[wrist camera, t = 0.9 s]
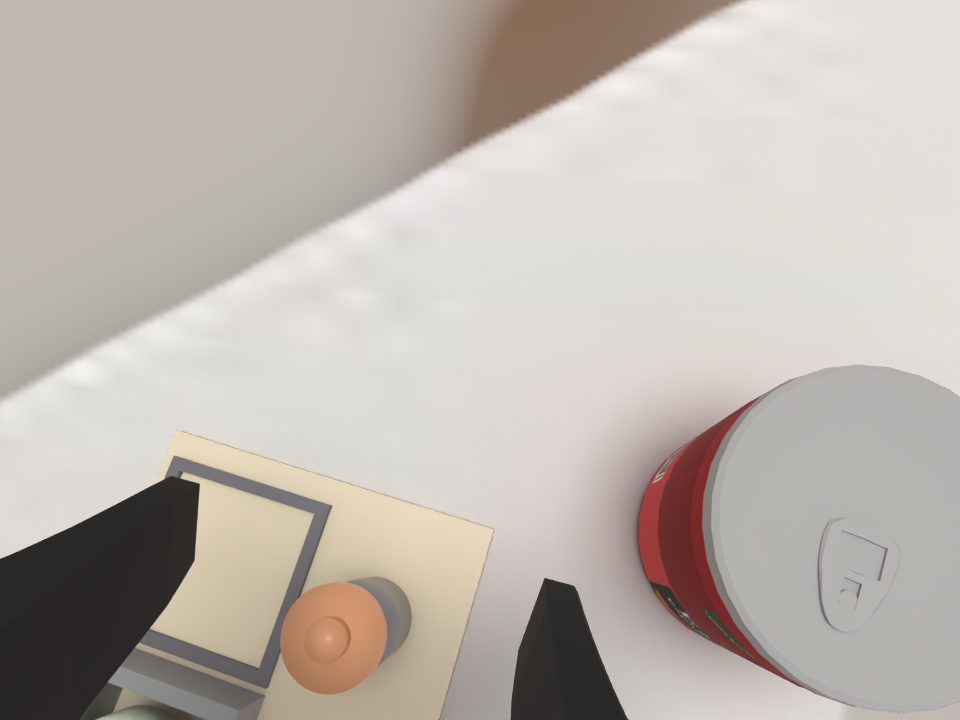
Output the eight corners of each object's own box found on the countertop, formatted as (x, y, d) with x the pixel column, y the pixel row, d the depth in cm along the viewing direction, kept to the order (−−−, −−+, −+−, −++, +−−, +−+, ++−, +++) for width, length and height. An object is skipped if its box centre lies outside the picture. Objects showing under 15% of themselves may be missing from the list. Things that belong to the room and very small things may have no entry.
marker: (397, 673, 25) (356, 715, 19) (321, 646, 25) (255, 679, 19) (423, 589, 26) (391, 603, 19) (349, 565, 26) (294, 570, 20)
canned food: (625, 628, 25) (699, 686, 15) (641, 422, 27) (717, 343, 17) (835, 661, 24) (1074, 748, 14) (835, 446, 26) (1042, 380, 16)
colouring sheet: (374, 943, 23) (370, 955, 22) (26, 800, 25) (12, 806, 24) (494, 529, 26) (493, 529, 26) (181, 431, 28) (172, 429, 28)
